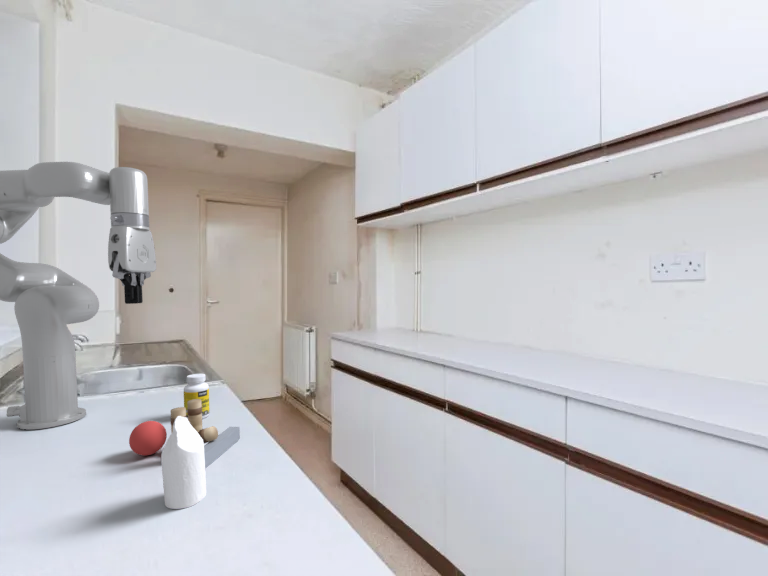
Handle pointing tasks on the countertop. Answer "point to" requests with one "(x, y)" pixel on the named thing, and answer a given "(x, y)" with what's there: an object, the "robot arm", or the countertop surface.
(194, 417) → the pin
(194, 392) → the supplement bottle
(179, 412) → the pin
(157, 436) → the ball
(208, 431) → the pin front
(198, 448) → the white pointed column
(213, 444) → the stopper wall
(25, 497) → the countertop surface
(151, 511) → the countertop surface
